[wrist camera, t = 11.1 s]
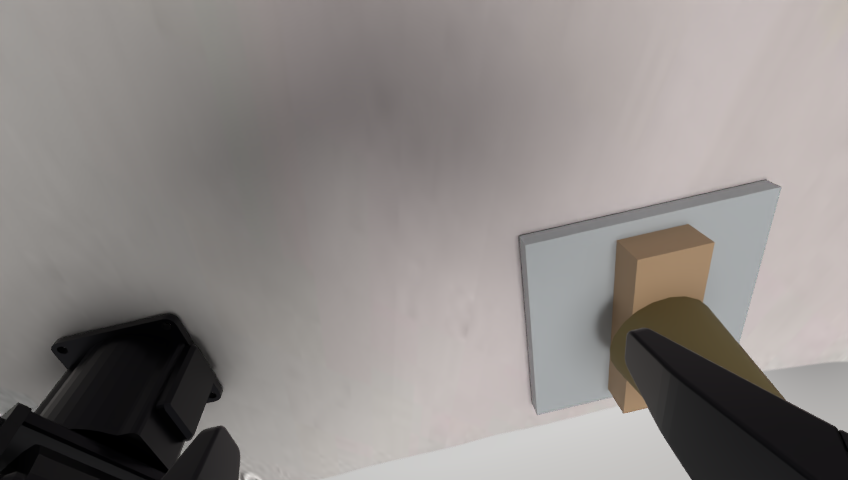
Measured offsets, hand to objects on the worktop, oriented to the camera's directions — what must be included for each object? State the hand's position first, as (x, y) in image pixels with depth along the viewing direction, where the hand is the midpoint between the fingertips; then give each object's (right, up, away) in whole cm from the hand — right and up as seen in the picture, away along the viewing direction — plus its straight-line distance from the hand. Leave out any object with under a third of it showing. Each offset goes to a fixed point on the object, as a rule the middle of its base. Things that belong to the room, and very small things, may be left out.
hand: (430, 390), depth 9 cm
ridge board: (+13, -1, +18) cm, 22 cm away
